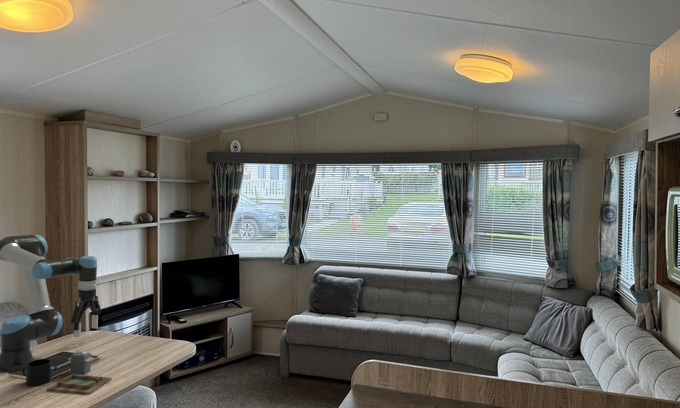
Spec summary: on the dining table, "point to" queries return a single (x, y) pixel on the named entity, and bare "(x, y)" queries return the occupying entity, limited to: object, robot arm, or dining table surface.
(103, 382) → the tray
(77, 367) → the servo
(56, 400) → the dining table surface
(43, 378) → the mug
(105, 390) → the dining table surface
